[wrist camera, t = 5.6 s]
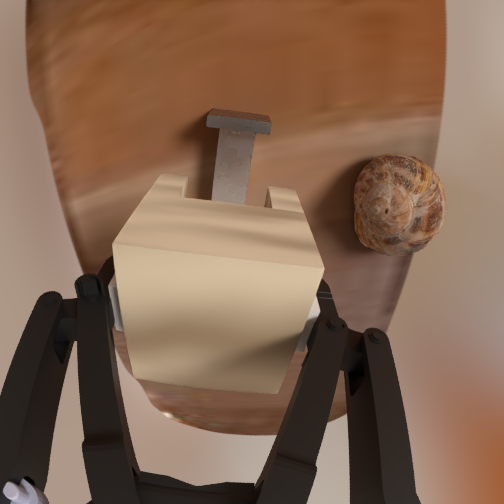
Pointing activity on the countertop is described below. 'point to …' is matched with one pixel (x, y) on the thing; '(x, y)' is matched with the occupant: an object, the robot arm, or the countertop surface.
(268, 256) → the slotted tan cube
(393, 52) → the countertop surface
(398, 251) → the seashell
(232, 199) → the rail
